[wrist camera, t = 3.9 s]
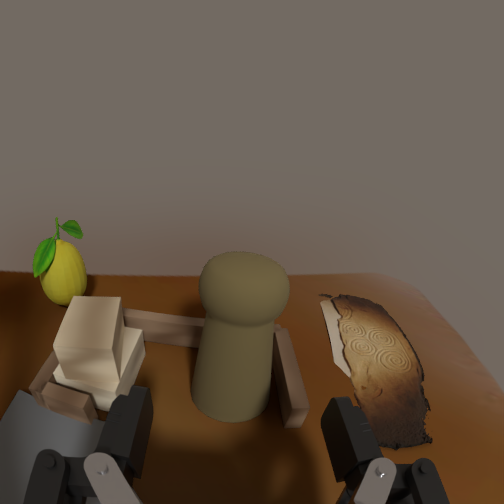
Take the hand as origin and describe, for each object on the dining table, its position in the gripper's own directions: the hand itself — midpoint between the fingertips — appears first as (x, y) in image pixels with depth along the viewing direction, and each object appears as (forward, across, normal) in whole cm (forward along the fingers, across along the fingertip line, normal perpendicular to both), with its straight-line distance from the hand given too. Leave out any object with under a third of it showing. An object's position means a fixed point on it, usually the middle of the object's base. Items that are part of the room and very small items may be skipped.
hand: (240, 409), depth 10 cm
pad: (-3, +11, +7) cm, 13 cm away
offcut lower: (+6, +10, +7) cm, 14 cm away
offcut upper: (+6, +10, +4) cm, 13 cm away
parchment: (+12, -15, +7) cm, 20 cm away
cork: (+7, 0, +7) cm, 10 cm away
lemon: (+15, +18, +7) cm, 25 cm away
